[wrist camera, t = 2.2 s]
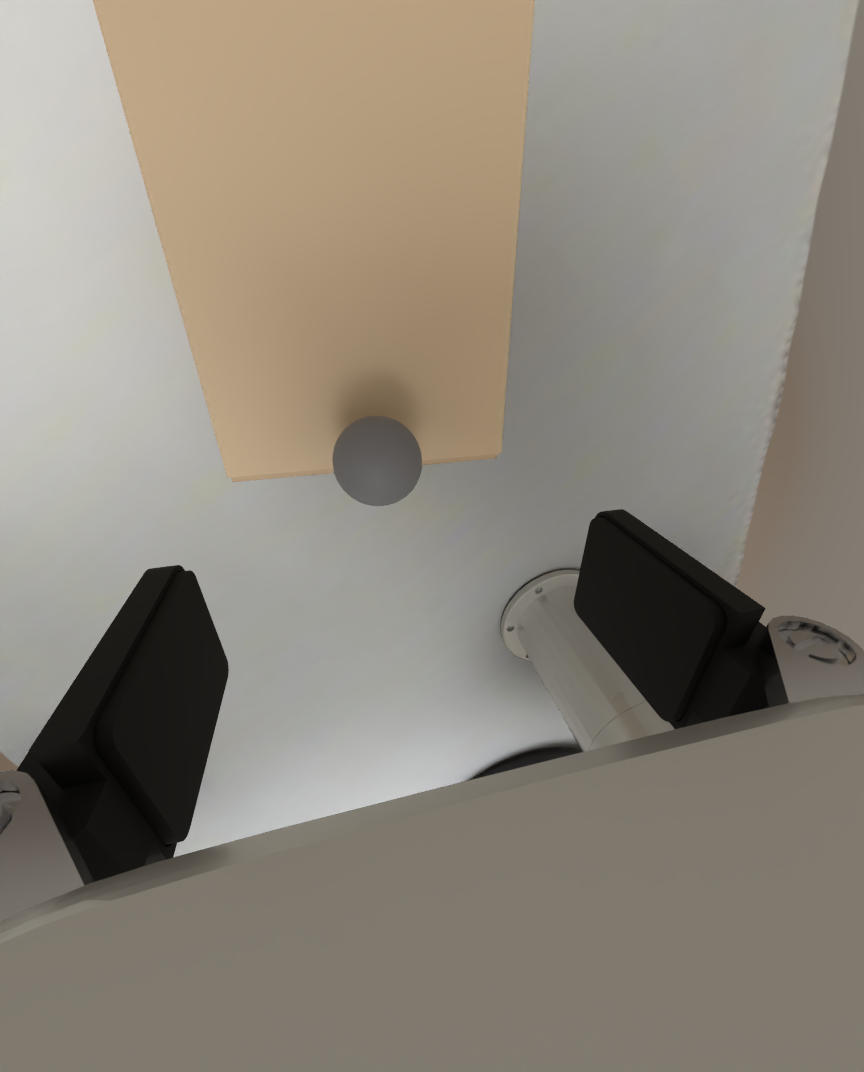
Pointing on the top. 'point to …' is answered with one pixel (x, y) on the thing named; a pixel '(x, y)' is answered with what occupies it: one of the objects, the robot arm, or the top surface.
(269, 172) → the flap
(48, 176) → the top surface
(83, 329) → the top surface
